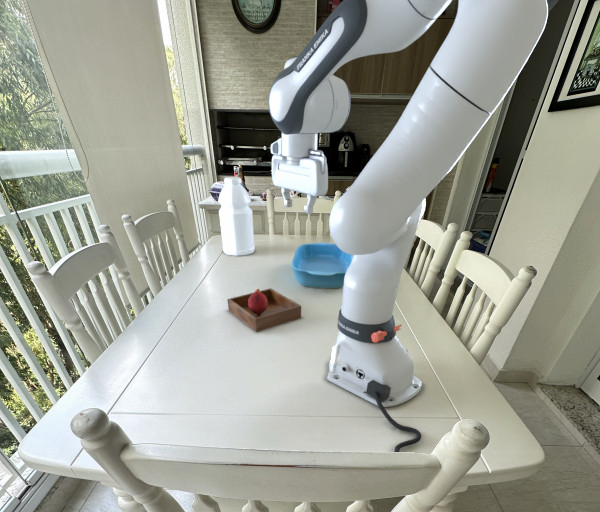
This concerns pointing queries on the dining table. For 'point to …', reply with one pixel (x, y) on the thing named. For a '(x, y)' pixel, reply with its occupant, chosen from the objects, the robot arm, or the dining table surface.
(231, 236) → the bottle
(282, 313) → the tray
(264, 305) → the onion
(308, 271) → the casserole dish
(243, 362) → the dining table surface
